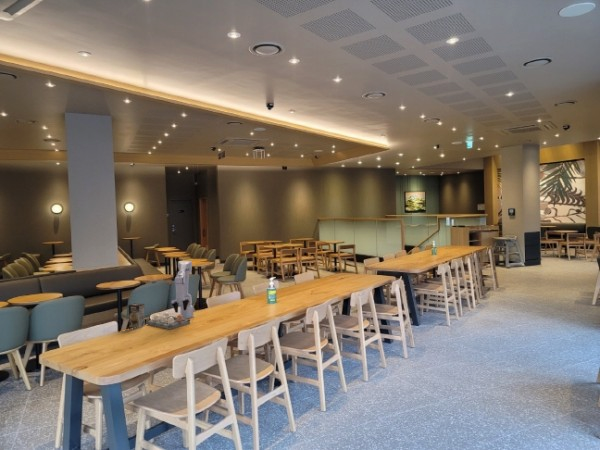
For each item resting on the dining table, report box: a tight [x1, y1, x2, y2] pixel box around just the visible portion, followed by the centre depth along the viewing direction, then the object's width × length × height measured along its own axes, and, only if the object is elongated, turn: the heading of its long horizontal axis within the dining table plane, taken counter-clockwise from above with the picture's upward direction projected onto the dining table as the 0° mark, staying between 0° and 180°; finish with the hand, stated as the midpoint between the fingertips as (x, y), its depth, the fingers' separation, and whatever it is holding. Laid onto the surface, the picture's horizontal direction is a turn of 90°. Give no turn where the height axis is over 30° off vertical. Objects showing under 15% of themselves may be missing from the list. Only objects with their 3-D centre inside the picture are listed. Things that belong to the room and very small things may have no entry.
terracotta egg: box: [176, 314, 183, 322], centre depth 303 cm, size 4×4×6 cm
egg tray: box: [146, 311, 191, 330], centre depth 304 cm, size 18×26×7 cm
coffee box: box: [128, 302, 146, 329], centre depth 300 cm, size 9×6×16 cm
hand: (180, 311), depth 303 cm, fingers open, 7 cm apart
